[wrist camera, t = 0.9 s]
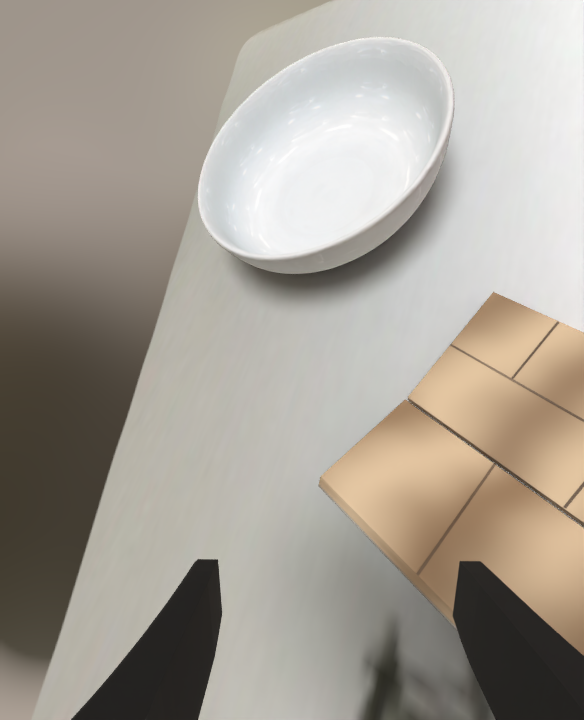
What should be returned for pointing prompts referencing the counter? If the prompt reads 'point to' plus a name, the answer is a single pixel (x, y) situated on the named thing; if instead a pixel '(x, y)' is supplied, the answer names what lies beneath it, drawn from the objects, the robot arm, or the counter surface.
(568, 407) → the laid floor boards
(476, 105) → the counter surface
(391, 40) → the serving bowl
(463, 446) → the click plank
